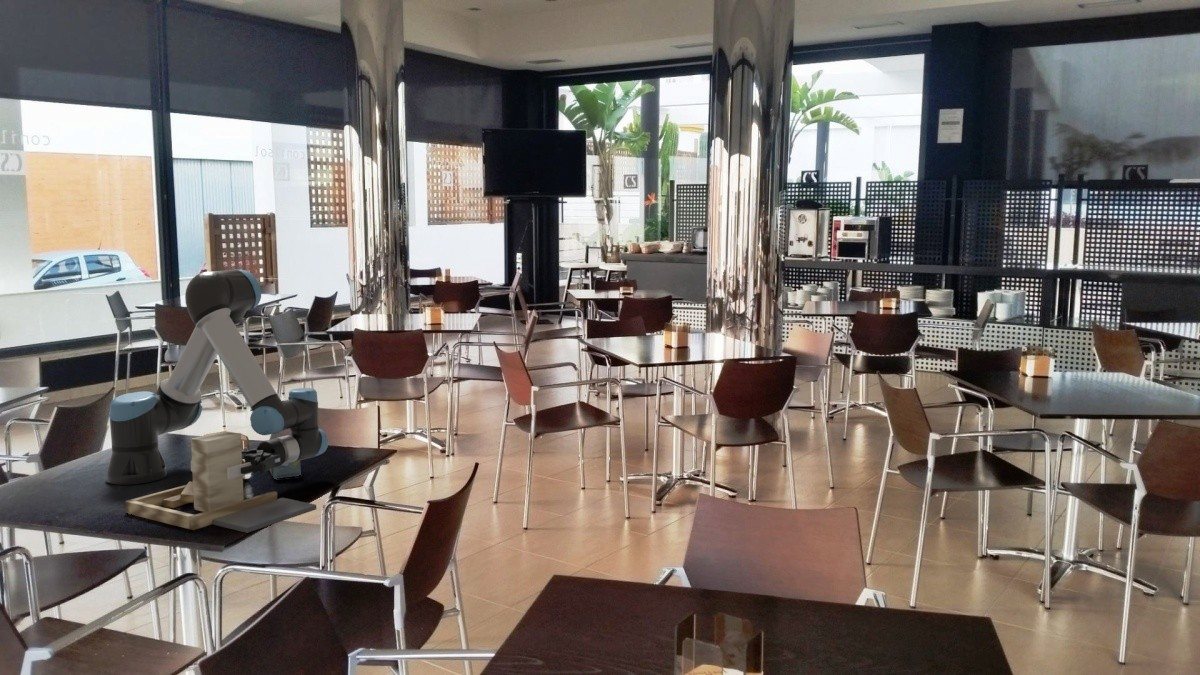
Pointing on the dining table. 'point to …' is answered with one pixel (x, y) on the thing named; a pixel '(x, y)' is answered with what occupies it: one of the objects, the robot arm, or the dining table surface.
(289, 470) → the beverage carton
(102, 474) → the dining table surface
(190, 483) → the offcut upper
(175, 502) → the offcut lower
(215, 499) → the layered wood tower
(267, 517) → the slate board
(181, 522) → the wooden frame
